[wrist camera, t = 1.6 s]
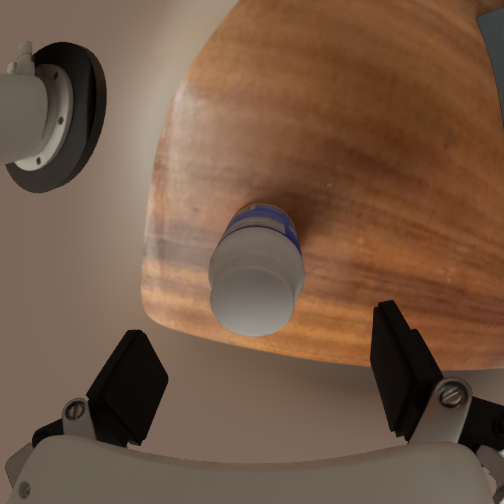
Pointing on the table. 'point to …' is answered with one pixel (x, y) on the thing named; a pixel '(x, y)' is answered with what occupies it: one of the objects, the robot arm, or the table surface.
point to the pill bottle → (256, 271)
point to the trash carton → (495, 46)
